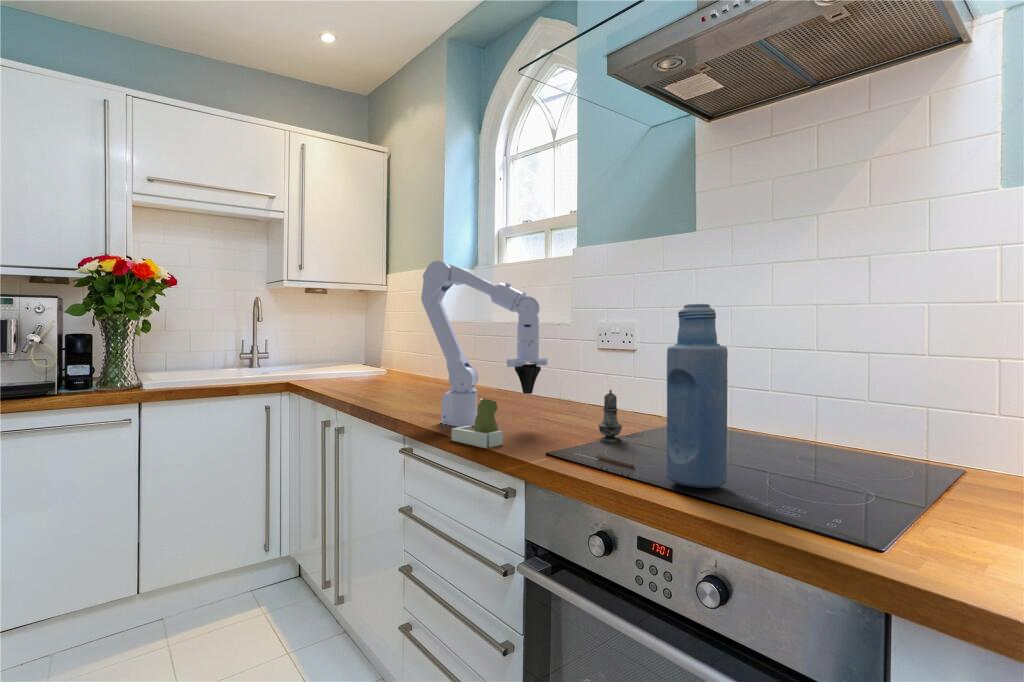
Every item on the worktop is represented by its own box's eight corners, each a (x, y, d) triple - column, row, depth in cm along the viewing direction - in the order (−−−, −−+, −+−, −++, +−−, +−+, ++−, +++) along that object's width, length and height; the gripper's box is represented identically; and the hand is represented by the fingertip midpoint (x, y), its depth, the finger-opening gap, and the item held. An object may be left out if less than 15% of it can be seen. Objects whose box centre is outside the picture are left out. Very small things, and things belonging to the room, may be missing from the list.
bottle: (739, 483, 89) (741, 304, 89) (700, 492, 84) (702, 301, 84) (692, 471, 97) (694, 306, 97) (654, 478, 92) (656, 304, 92)
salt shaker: (622, 442, 123) (623, 391, 123) (596, 441, 125) (597, 390, 125) (622, 438, 129) (623, 388, 129) (598, 437, 130) (598, 388, 130)
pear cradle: (451, 441, 123) (451, 428, 123) (468, 438, 127) (468, 425, 127) (485, 448, 116) (485, 434, 116) (502, 444, 120) (502, 431, 120)
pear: (469, 440, 124) (470, 397, 124) (486, 438, 128) (487, 396, 128) (485, 444, 120) (486, 400, 120) (502, 441, 124) (503, 398, 124)
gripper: (521, 342, 133) (521, 396, 133) (556, 342, 144) (556, 392, 144) (501, 341, 138) (500, 394, 138) (536, 342, 149) (535, 390, 149)
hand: (527, 393), depth 141 cm, fingers closed
